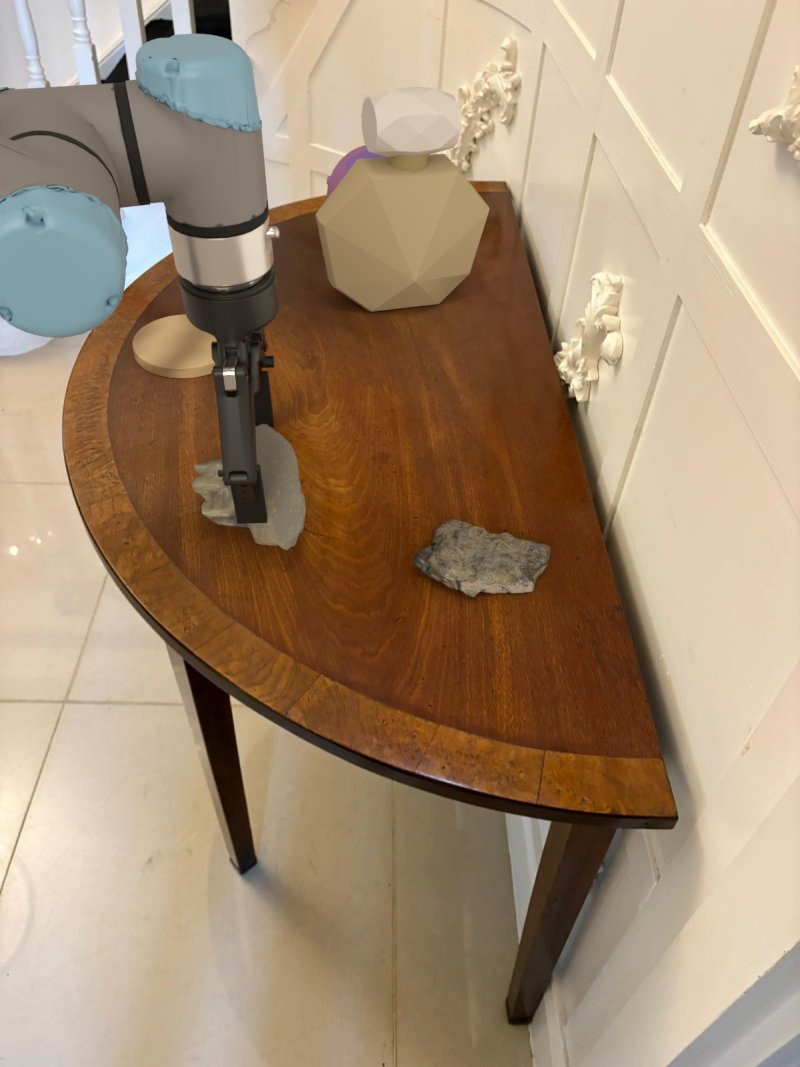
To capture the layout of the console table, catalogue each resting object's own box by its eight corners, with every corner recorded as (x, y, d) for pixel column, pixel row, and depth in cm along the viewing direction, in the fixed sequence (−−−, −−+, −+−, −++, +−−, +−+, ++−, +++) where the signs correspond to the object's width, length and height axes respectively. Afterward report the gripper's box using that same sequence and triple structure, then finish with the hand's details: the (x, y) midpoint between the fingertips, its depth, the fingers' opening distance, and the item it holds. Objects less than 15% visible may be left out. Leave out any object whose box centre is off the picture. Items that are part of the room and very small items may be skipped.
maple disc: (125, 377, 97) (123, 367, 96) (143, 322, 106) (141, 312, 105) (232, 379, 98) (231, 369, 97) (241, 325, 107) (240, 315, 106)
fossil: (267, 505, 87) (179, 482, 82) (305, 425, 83) (216, 396, 78) (296, 583, 77) (198, 563, 71) (342, 496, 73) (241, 468, 67)
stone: (549, 552, 80) (555, 532, 78) (539, 615, 74) (545, 596, 72) (415, 524, 82) (417, 503, 80) (395, 583, 76) (396, 563, 74)
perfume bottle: (489, 310, 114) (523, 99, 94) (329, 328, 108) (328, 106, 88) (459, 271, 122) (484, 68, 102) (308, 286, 116) (303, 74, 96)
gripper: (266, 360, 53) (291, 565, 69) (281, 198, 70) (298, 391, 86) (154, 363, 53) (204, 568, 68) (196, 199, 70) (229, 393, 85)
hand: (257, 470), depth 77 cm, fingers open, 13 cm apart
